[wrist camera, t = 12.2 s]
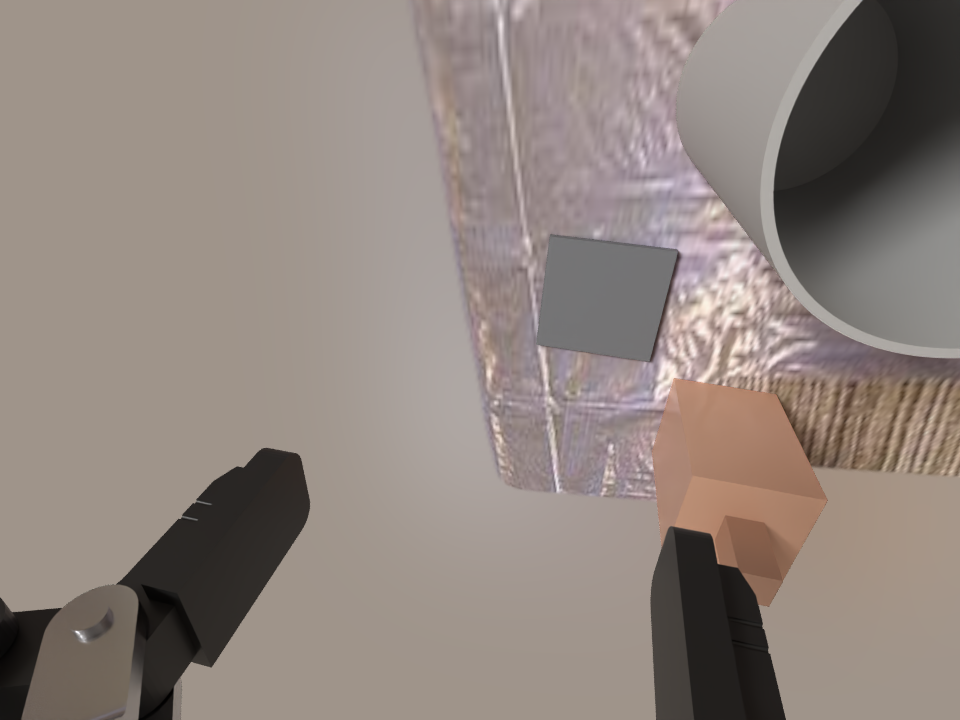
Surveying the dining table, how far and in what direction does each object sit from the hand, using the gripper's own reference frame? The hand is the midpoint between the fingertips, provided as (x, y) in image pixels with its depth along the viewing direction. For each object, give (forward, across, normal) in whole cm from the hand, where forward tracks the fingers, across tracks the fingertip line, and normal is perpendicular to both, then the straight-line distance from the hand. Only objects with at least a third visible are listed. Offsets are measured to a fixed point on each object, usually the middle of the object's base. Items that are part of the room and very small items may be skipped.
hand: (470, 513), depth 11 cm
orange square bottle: (+34, -15, +21) cm, 43 cm away
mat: (+34, -3, +10) cm, 36 cm away
